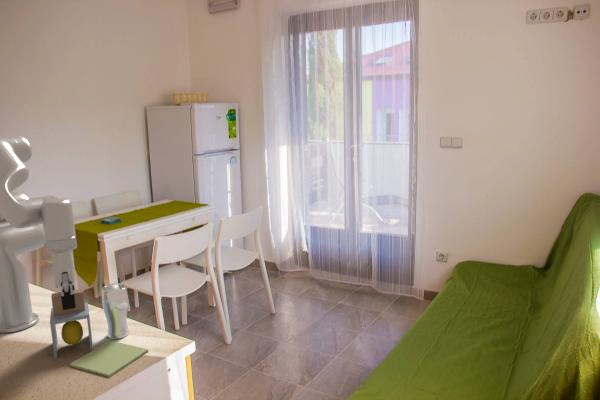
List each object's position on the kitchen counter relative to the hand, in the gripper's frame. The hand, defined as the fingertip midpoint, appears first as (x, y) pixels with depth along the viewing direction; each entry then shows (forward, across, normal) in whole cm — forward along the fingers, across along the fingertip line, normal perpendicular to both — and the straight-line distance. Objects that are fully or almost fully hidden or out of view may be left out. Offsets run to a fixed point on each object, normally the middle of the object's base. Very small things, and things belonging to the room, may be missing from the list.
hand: (69, 302), depth 136 cm
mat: (+13, +12, +8) cm, 20 cm away
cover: (+13, 0, 0) cm, 13 cm away
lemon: (+13, 0, 0) cm, 13 cm away
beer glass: (+13, -2, +12) cm, 18 cm away
